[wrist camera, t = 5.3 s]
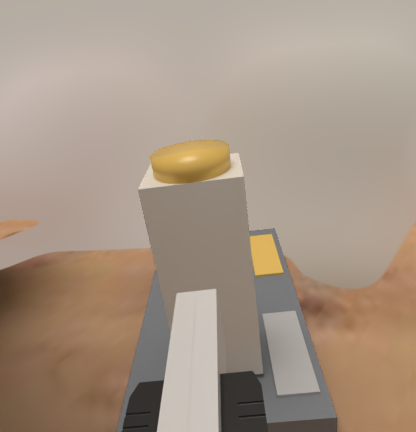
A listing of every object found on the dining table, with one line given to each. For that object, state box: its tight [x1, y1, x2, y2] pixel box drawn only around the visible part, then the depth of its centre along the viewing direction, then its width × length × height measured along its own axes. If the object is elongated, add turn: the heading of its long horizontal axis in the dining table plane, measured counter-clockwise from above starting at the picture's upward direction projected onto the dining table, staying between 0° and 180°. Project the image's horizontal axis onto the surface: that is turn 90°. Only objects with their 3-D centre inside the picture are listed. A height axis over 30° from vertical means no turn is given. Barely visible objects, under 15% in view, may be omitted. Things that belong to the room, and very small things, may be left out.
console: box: [116, 228, 337, 432], centre depth 31 cm, size 22×12×2 cm, turn 0°
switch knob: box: [138, 140, 263, 374], centre depth 22 cm, size 4×5×14 cm
